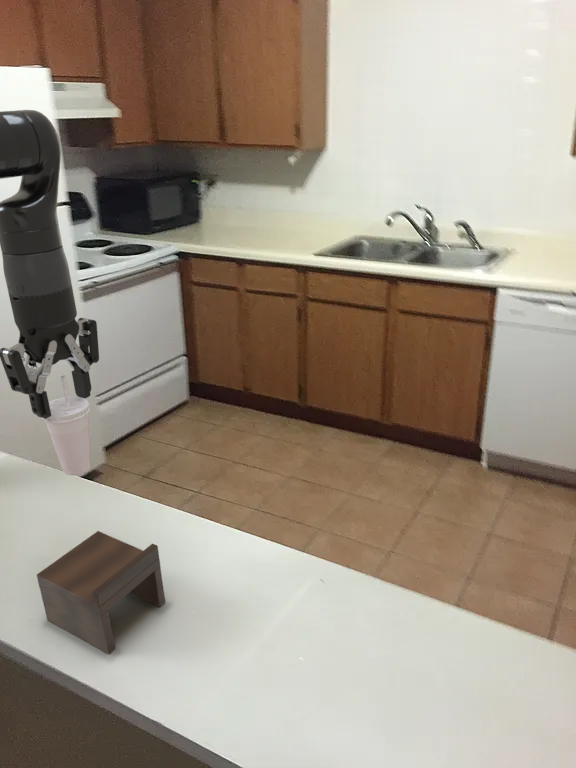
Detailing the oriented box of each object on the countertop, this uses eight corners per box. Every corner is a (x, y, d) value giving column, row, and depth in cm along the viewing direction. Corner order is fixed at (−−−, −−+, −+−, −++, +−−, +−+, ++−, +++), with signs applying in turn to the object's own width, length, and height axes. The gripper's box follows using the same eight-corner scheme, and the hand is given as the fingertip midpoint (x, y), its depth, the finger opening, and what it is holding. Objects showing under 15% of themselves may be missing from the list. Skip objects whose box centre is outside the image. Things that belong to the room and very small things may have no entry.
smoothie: (88, 481, 90) (70, 386, 84) (44, 479, 91) (23, 385, 85) (107, 457, 96) (92, 367, 90) (65, 455, 97) (48, 366, 91)
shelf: (47, 620, 93) (33, 562, 88) (105, 573, 101) (95, 519, 97) (108, 654, 87) (97, 594, 83) (165, 602, 95) (157, 545, 91)
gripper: (64, 268, 90) (85, 381, 97) (-31, 296, 79) (0, 422, 86) (104, 273, 86) (122, 391, 93) (10, 304, 75) (39, 435, 82)
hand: (64, 405), depth 89 cm, fingers closed on smoothie, 6 cm apart
